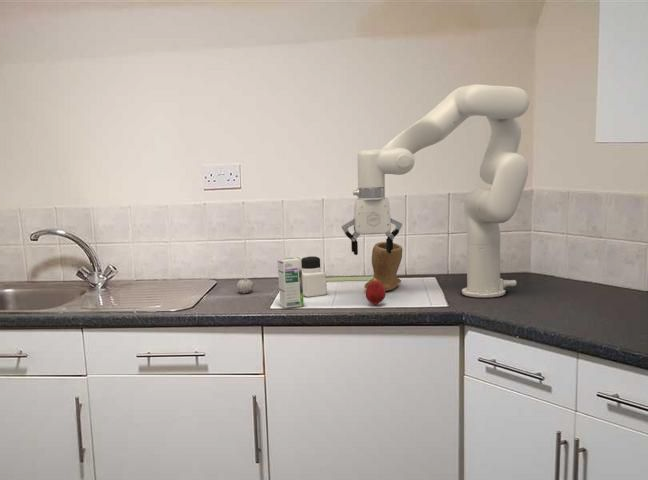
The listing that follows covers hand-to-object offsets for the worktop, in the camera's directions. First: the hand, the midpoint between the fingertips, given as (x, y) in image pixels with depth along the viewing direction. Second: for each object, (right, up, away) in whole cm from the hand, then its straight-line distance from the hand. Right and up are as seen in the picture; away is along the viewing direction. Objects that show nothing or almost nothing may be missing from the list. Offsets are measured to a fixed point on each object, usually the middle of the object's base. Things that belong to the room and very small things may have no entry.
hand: (372, 253), depth 219 cm
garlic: (-37, -12, +32) cm, 50 cm away
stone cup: (+8, -10, +26) cm, 29 cm away
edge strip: (-3, -7, +45) cm, 46 cm away
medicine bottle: (-16, -12, +24) cm, 31 cm away
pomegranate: (+2, -15, +3) cm, 16 cm away
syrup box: (-23, -15, +9) cm, 29 cm away
